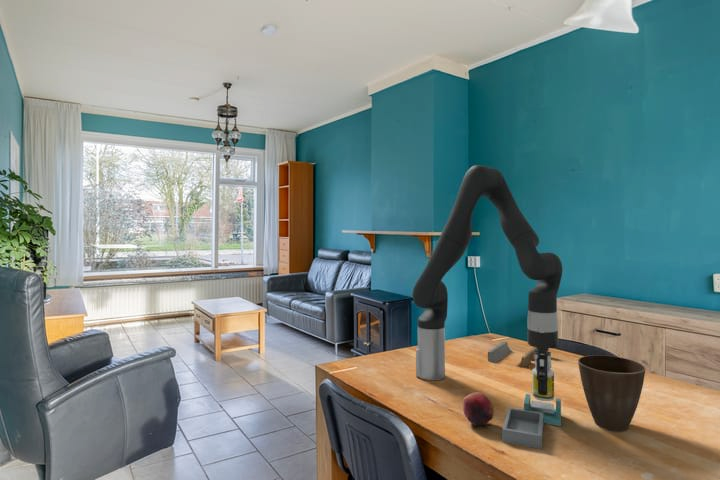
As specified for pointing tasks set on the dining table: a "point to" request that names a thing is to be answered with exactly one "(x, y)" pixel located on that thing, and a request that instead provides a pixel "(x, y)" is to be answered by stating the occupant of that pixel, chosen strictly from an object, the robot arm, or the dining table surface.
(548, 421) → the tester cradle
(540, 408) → the plate
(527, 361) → the skate ramp
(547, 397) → the supplement bottle
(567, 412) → the dining table surface
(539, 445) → the trough
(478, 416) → the fruit
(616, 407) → the plant pot
